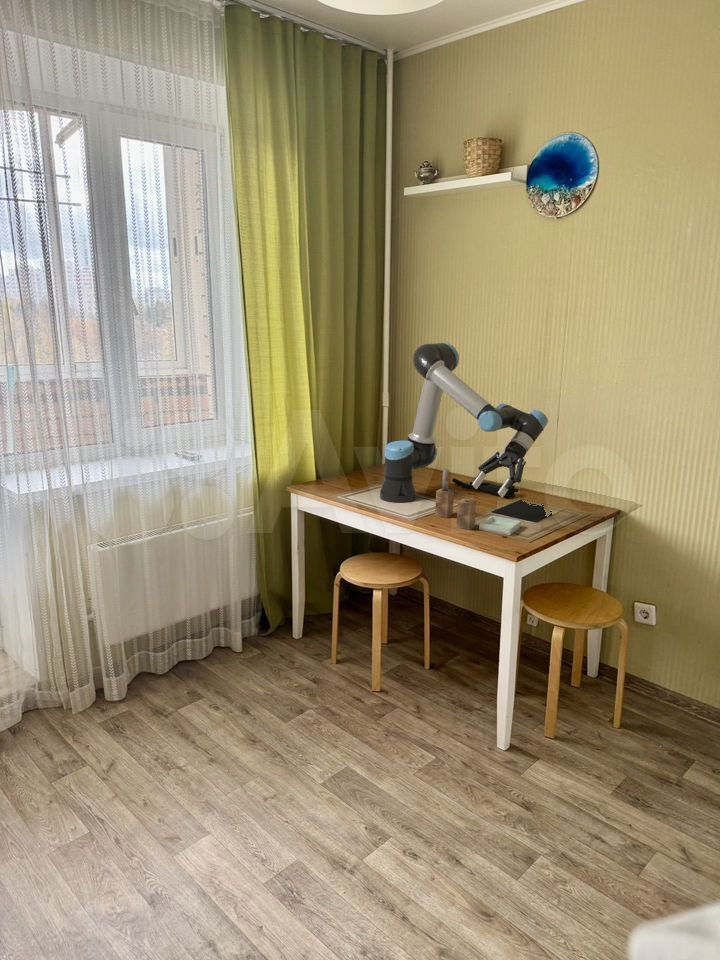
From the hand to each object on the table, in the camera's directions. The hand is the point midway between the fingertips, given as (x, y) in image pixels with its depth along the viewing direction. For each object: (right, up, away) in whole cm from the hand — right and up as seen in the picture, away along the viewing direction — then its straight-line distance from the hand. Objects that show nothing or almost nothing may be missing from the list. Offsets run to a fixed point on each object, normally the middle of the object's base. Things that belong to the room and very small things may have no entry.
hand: (486, 491), depth 254 cm
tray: (+5, -14, -2) cm, 14 cm away
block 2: (-8, -13, -1) cm, 15 cm away
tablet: (+20, -9, +21) cm, 31 cm away
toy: (+7, -1, +49) cm, 50 cm away
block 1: (-14, -10, +13) cm, 22 cm away
